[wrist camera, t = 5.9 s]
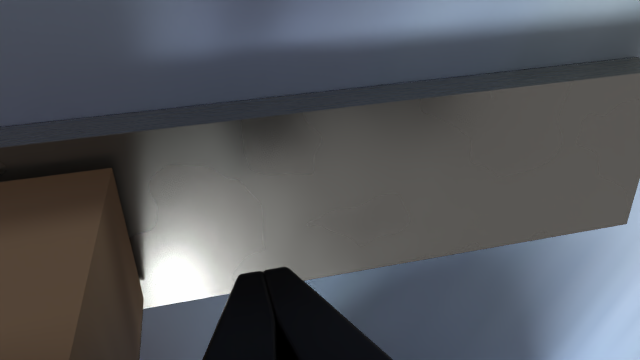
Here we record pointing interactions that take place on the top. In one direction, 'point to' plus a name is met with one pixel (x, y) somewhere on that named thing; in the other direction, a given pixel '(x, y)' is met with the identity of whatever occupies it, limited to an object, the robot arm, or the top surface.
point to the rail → (354, 172)
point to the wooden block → (67, 270)
